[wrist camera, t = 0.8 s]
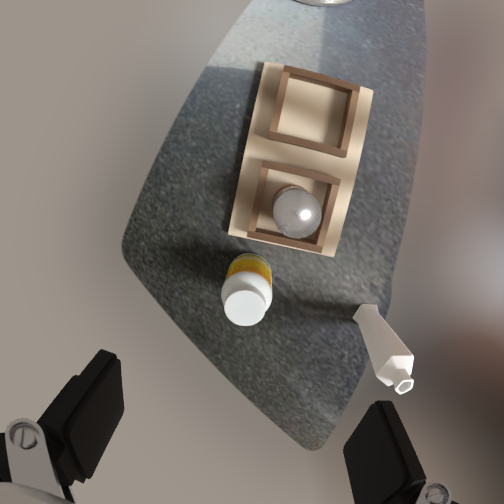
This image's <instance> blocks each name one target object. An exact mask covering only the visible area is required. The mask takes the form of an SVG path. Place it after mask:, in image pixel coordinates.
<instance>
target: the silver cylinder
mask: <svg viewBox="0 0 504 504" xmlns="http://www.w3.org/2000/svg"><path fill="white" fill-rule="evenodd" d="M272 211H273V217H274V222H275V225H276V226H277V228H278V229H279V231H280V232H281V233H283V234H284V235H286V236H288V237H291V238H304V237H307V236H309V235H311V234H312V233H313V232H314V231H315V230H316V229H317V228H318V226H319V224H320V222H321V217H322V212H321V207H320V205H319V203H318V201H317V200H316V198H315V197H313V196H312V195H311V194H310V193H309V192H308V191H307V190H306V189H304V188H303V187H301V186H298V185H293V184H291V185H286V186H283V187H281V188H280V189H279V190H278V191H277V192H276V193H275V194H274V196H273V199H272Z"/></svg>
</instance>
